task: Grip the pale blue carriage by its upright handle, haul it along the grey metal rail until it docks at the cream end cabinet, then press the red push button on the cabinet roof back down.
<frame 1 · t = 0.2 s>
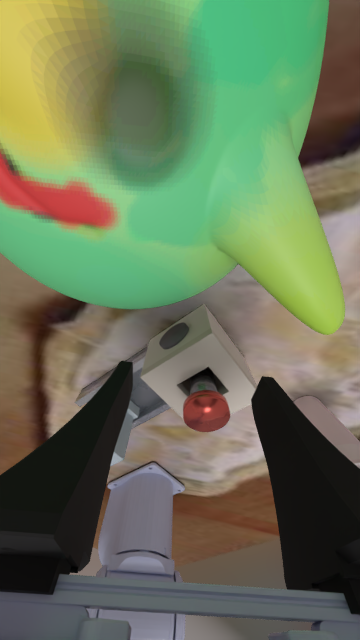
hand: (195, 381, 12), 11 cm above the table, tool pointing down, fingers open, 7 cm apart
green rounded blob: (155, 158, 17), on the table
red push button: (203, 391, 18), point 6 cm above the table, slide at 1.5 cm
smoothie: (304, 405, 27), on the table
end cabinet: (197, 349, 24), on the table
carriage: (107, 426, 23), point 4 cm above the table, slide at 0.0 cm
rail: (135, 387, 26), on the table
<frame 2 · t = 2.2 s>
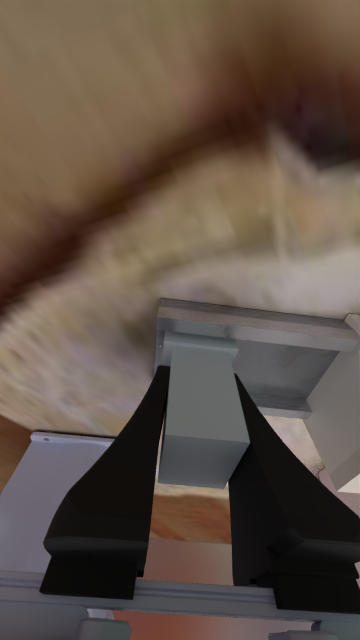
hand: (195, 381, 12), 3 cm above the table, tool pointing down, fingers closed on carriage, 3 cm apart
smoothie: (335, 470, 24), on the table
carriage: (195, 400, 11), point 4 cm above the table, slide at 0.0 cm, touching gripper
rail: (238, 353, 15), on the table
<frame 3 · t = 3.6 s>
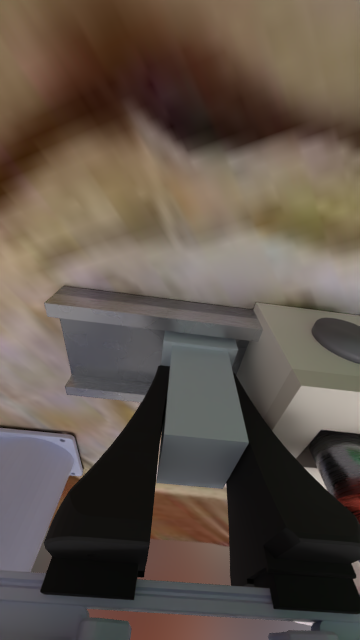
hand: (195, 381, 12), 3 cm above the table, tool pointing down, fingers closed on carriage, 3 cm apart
red push button: (343, 462, 10), point 6 cm above the table, slide at 1.5 cm
end cabinet: (287, 359, 15), on the table
carriage: (195, 400, 11), point 4 cm above the table, slide at 5.5 cm, touching gripper
rail: (156, 344, 14), on the table
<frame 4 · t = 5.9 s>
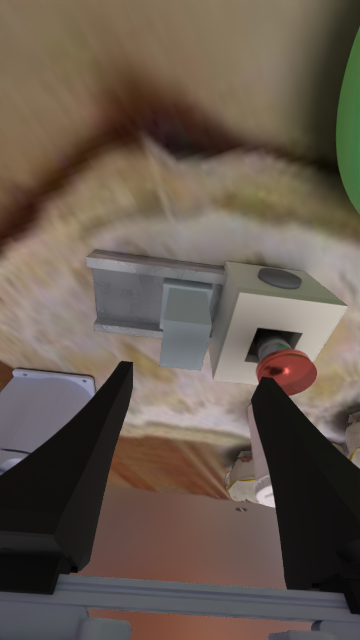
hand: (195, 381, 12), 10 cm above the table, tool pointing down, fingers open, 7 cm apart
red push button: (274, 352, 15), point 6 cm above the table, slide at 1.6 cm
smoothie: (260, 407, 29), on the table
end cabinet: (251, 306, 21), on the table
chinaware: (307, 445, 35), on the table
carriage: (184, 322, 17), point 4 cm above the table, slide at 5.6 cm
rail: (157, 295, 20), on the table
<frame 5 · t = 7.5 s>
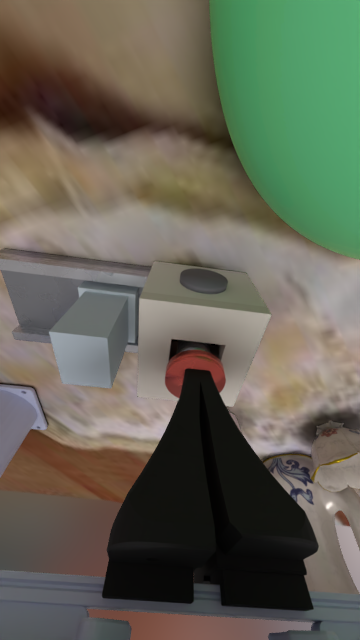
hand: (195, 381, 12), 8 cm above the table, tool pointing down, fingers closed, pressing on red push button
red push button: (194, 353, 14), point 5 cm above the table, slide at 0.3 cm, touching gripper
end cabinet: (192, 312, 19), on the table
chinaware: (276, 457, 32), on the table
carriage: (100, 331, 15), point 4 cm above the table, slide at 5.6 cm
rail: (85, 299, 18), on the table
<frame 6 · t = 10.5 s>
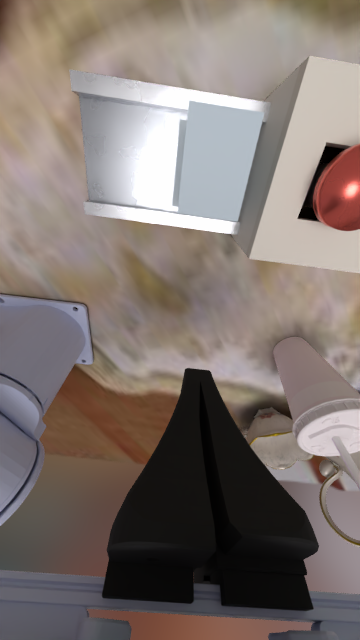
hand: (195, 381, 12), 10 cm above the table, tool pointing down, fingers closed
red push button: (332, 187, 11), point 5 cm above the table, slide at 0.3 cm
smoothie: (289, 348, 24), on the table
end cabinet: (292, 184, 16), on the table
chinaware: (337, 401, 29), on the table
carriage: (210, 170, 12), point 4 cm above the table, slide at 5.6 cm
rail: (169, 166, 15), on the table
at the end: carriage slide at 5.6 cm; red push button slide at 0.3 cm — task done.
